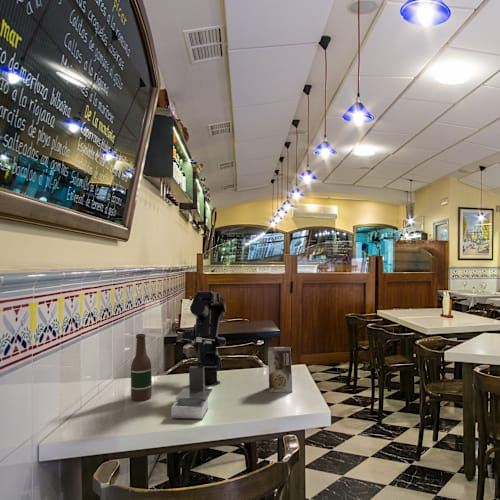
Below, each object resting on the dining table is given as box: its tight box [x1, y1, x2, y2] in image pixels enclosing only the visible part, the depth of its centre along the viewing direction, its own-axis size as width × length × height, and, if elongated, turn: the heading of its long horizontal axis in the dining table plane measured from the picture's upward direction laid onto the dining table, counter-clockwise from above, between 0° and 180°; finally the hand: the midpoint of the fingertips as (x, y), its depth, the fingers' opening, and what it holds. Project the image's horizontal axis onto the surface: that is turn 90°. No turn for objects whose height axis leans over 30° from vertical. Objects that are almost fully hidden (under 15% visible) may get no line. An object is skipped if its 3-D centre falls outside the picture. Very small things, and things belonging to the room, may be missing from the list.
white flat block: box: [171, 398, 209, 421], centre depth 124 cm, size 9×10×4 cm
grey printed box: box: [267, 346, 293, 393], centre depth 146 cm, size 9×6×16 cm
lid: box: [175, 365, 213, 401], centre depth 130 cm, size 10×11×9 cm
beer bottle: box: [130, 333, 153, 403], centre depth 141 cm, size 8×8×24 cm
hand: (200, 362), depth 140 cm, fingers closed
